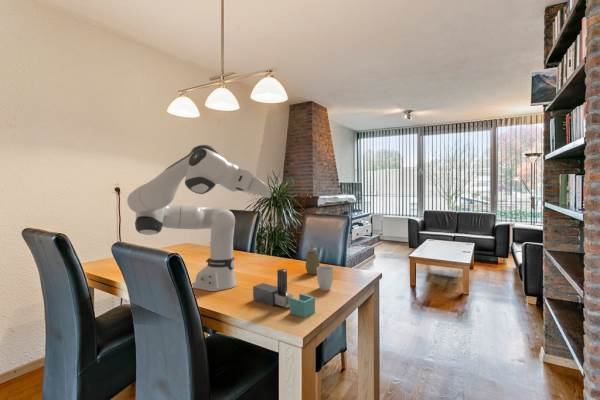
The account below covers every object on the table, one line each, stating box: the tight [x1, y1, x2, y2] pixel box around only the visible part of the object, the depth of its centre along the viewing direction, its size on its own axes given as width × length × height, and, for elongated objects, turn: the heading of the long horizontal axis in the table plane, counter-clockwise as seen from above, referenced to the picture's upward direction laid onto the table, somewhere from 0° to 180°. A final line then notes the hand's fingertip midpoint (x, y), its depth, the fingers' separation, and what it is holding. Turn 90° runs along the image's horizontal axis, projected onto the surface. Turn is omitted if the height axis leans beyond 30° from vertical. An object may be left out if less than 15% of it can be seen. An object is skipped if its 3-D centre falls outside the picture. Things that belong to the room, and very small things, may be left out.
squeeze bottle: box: [305, 241, 321, 276], centre depth 171 cm, size 8×8×18 cm
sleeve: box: [252, 282, 278, 307], centre depth 131 cm, size 12×6×6 cm, turn 51°
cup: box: [316, 265, 334, 291], centre depth 146 cm, size 8×8×10 cm
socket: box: [289, 293, 316, 319], centre depth 118 cm, size 7×7×6 cm
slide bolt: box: [273, 268, 294, 309], centre depth 128 cm, size 17×4×14 cm, turn 51°
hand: (262, 194), depth 116 cm, fingers open, 8 cm apart
